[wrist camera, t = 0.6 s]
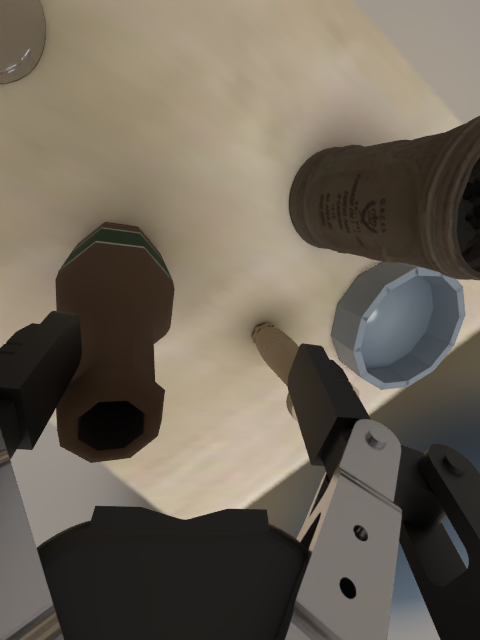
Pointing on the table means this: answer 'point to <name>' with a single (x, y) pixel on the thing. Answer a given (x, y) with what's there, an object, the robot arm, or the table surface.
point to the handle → (278, 354)
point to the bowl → (397, 323)
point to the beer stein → (397, 201)
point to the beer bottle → (114, 342)
